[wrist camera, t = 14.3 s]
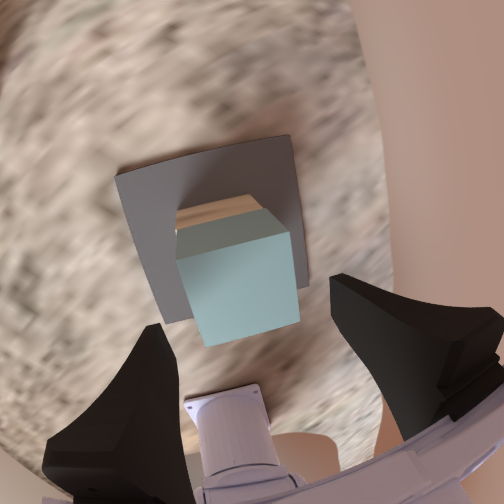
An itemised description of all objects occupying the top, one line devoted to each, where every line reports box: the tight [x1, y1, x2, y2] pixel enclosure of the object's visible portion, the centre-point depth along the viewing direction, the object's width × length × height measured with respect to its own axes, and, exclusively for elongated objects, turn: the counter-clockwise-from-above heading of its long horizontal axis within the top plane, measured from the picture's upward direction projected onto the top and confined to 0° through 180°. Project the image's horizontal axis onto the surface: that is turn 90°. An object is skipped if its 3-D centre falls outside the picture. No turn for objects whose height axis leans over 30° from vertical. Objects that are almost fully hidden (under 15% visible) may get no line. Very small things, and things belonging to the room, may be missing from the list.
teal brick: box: [175, 208, 300, 348], centre depth 15 cm, size 5×5×4 cm
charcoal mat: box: [114, 135, 309, 324], centre depth 21 cm, size 12×12×1 cm
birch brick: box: [175, 194, 263, 235], centre depth 19 cm, size 5×5×4 cm
